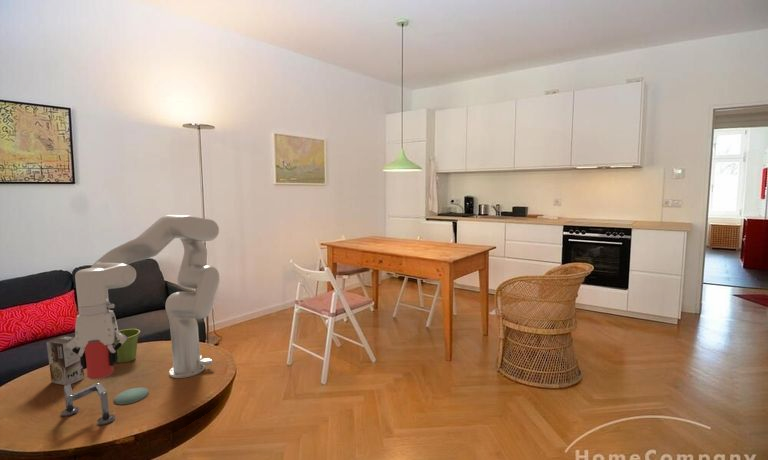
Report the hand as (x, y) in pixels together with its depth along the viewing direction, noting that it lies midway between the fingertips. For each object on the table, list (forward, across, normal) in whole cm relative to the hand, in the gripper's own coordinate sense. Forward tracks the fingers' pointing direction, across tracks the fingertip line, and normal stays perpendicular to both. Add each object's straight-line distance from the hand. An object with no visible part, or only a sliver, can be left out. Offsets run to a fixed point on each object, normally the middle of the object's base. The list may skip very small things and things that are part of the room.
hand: (99, 365), depth 122 cm
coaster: (+18, -4, -13) cm, 22 cm away
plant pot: (+18, +9, -48) cm, 52 cm away
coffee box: (+18, +24, -34) cm, 45 cm away
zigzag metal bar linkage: (+18, +5, -4) cm, 19 cm away
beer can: (+3, 0, 0) cm, 3 cm away
